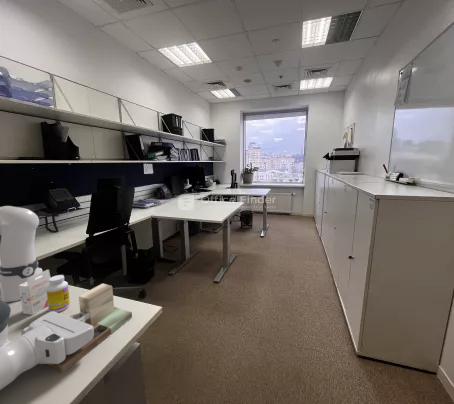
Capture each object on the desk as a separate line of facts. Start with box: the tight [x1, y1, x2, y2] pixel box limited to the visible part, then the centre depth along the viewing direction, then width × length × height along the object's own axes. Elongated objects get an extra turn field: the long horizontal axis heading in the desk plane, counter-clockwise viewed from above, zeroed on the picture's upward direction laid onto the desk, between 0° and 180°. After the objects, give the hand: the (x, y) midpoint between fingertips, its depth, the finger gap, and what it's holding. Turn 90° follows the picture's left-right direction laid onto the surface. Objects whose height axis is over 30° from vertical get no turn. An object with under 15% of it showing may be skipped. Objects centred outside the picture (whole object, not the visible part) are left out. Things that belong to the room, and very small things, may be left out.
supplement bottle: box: [46, 274, 71, 313], centre depth 84 cm, size 7×7×13 cm
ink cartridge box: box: [19, 269, 51, 316], centre depth 84 cm, size 9×5×15 cm, turn 168°
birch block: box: [78, 283, 115, 326], centre depth 77 cm, size 5×9×10 cm, turn 159°
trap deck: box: [47, 306, 133, 373], centre depth 72 cm, size 18×24×2 cm
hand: (87, 313), depth 72 cm, fingers closed
